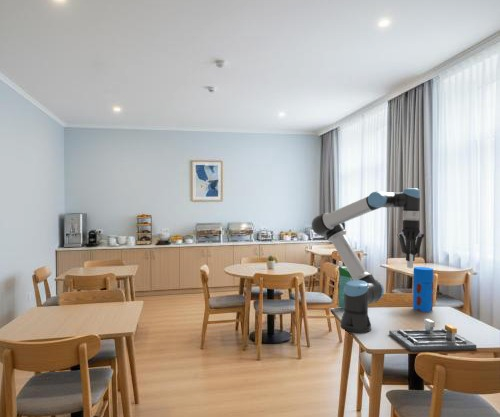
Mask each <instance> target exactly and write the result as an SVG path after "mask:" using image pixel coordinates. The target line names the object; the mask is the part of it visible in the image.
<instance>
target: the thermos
mask: <svg viewBox="0 0 500 417" xmlns="http://www.w3.org/2000/svg"><path fill="white" fill-rule="evenodd" d="M412 277H413V282H412V283H413V284H412V285H413V288H412V308H414V309H413V310H414V311H418V312H422V313H423V312H424V313H430V312H433V308H434V307H433V306H434V268H431V267H425V266H413V276H412Z"/></svg>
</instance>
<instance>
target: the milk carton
mask: <svg viewBox="0 0 500 417" xmlns="http://www.w3.org/2000/svg"><path fill="white" fill-rule="evenodd" d="M338 269H339V270H338V275H339V276H338V277H339V278H338V282H339V283H338V308H341V309H343V308H344V288H345V284H346V282H348V281H352V280H353V278H352V277H351V275H350V273H349V271H348V269H347V268H346V266H345V265H344V266H339V268H338Z"/></svg>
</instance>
